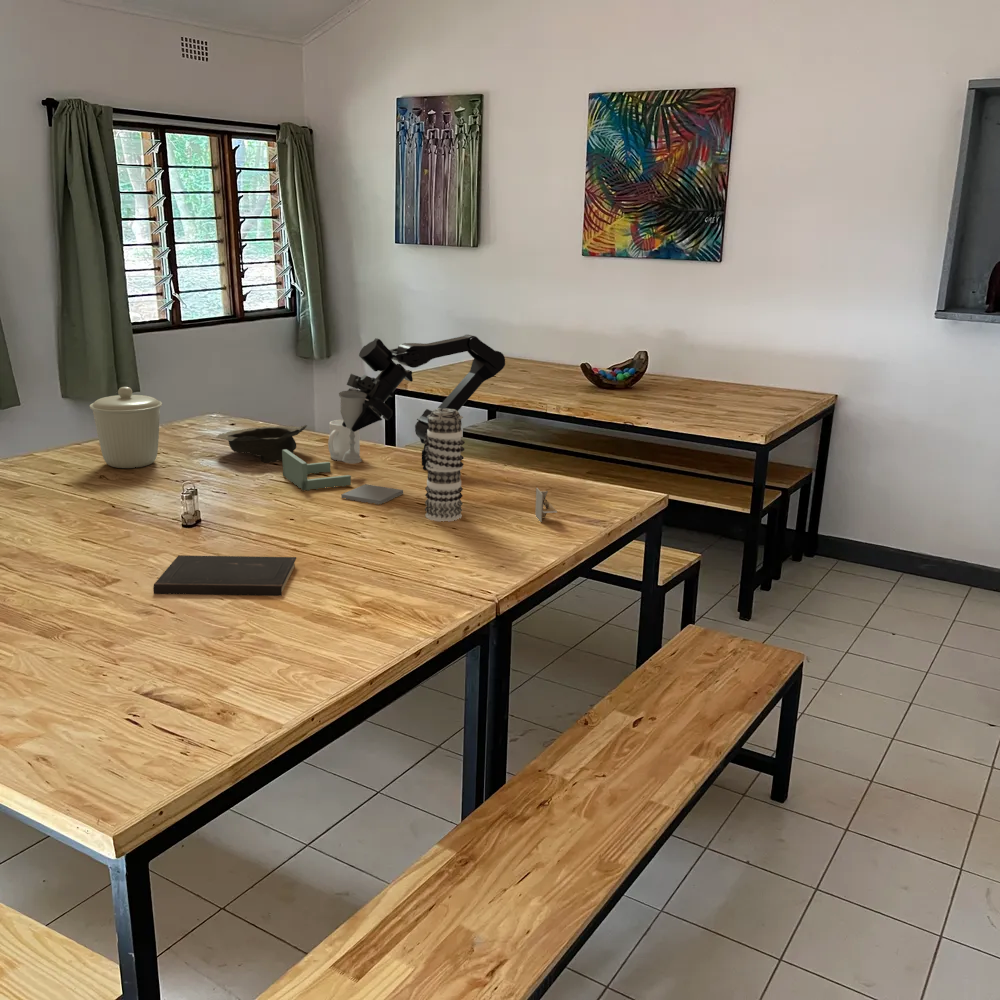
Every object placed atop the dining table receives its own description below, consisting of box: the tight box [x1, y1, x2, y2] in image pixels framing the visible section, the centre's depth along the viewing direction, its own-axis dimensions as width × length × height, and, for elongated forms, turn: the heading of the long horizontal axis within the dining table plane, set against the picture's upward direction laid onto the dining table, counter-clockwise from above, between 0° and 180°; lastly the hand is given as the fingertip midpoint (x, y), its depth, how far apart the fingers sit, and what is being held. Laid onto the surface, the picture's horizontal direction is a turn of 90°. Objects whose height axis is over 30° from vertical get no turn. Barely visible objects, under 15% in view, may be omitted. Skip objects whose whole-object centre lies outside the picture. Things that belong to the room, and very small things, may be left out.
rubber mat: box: [340, 483, 404, 505], centre depth 241 cm, size 11×11×1 cm
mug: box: [327, 419, 361, 462], centre depth 274 cm, size 12×8×10 cm
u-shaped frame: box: [281, 449, 352, 492], centre depth 252 cm, size 13×16×7 cm
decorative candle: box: [424, 408, 466, 523], centre depth 223 cm, size 9×9×25 cm
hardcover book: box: [152, 555, 297, 597], centre depth 184 cm, size 16×23×2 cm
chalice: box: [338, 390, 367, 464], centre depth 254 cm, size 7×7×18 cm
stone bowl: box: [215, 424, 308, 464], centre depth 276 cm, size 25×25×9 cm
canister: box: [89, 386, 163, 469], centre depth 261 cm, size 18×18×21 cm
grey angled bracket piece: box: [534, 487, 558, 523], centre depth 225 cm, size 3×7×7 cm, turn 11°
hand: (347, 428), depth 253 cm, fingers closed on chalice, 6 cm apart
